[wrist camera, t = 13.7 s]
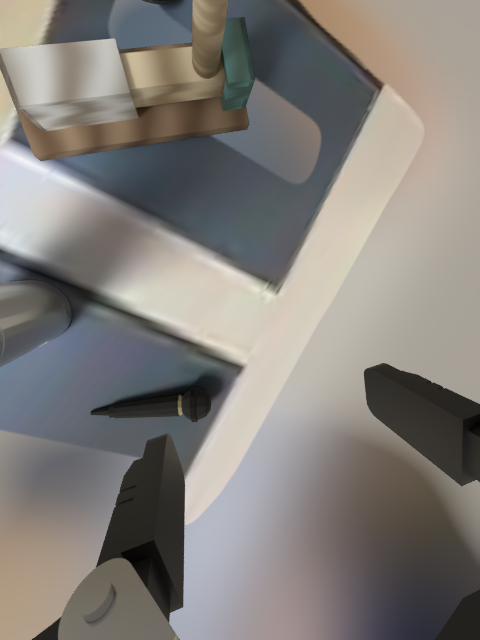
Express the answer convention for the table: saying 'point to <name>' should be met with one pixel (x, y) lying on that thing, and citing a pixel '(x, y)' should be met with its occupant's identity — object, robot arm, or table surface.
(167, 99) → the cream l-shaped piece
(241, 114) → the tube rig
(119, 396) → the table surface
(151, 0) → the milk frother
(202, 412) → the microphone
